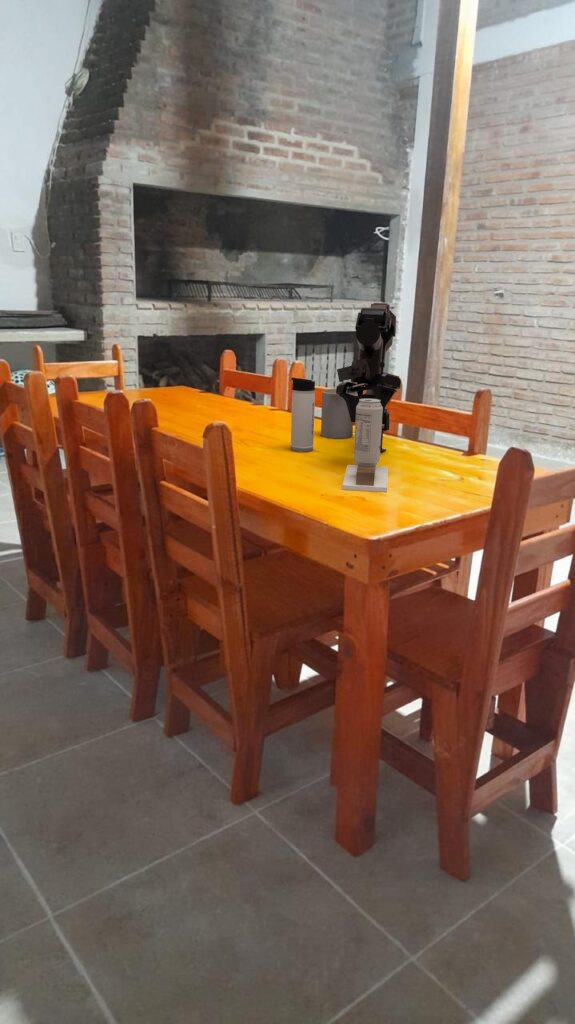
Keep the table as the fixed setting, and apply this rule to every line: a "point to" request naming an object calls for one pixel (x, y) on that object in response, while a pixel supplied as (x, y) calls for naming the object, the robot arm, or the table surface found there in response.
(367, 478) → the walnut ridge
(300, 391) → the travel mug
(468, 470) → the table surface
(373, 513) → the table surface
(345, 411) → the pillar candle
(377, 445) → the energy drink can
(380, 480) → the ridge base plate
